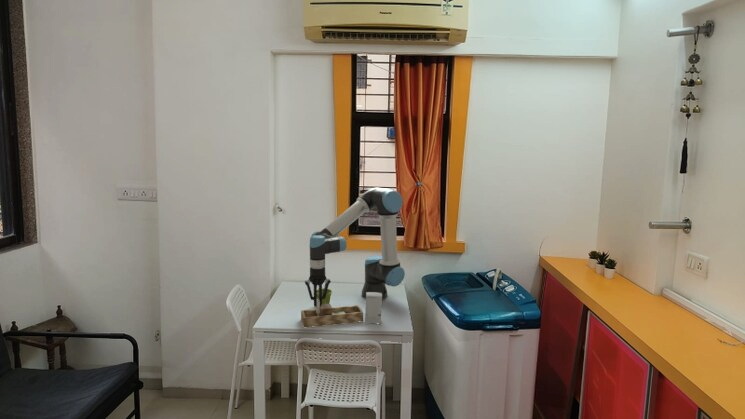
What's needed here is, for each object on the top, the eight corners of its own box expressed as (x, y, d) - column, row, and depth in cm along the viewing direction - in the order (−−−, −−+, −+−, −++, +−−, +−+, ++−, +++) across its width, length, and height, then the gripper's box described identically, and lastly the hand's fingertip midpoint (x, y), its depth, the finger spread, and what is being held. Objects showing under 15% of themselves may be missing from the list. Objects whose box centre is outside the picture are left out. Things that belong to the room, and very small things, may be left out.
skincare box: (364, 324, 227) (365, 295, 224) (365, 319, 233) (365, 291, 230) (381, 324, 227) (382, 296, 224) (381, 319, 233) (382, 291, 230)
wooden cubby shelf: (358, 314, 239) (358, 305, 238) (363, 321, 230) (363, 312, 229) (301, 319, 231) (301, 310, 230) (303, 327, 221) (303, 318, 221)
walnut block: (330, 313, 232) (330, 303, 232) (332, 317, 227) (332, 308, 226) (318, 314, 231) (318, 304, 230) (320, 318, 225) (320, 309, 224)
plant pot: (329, 310, 243) (329, 295, 242) (312, 308, 245) (312, 293, 244) (334, 304, 252) (334, 289, 251) (318, 302, 254) (317, 287, 253)
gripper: (305, 270, 218) (305, 316, 222) (332, 268, 222) (332, 313, 226) (303, 265, 225) (303, 310, 229) (329, 263, 229) (329, 308, 233)
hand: (317, 312), depth 227 cm, fingers closed
